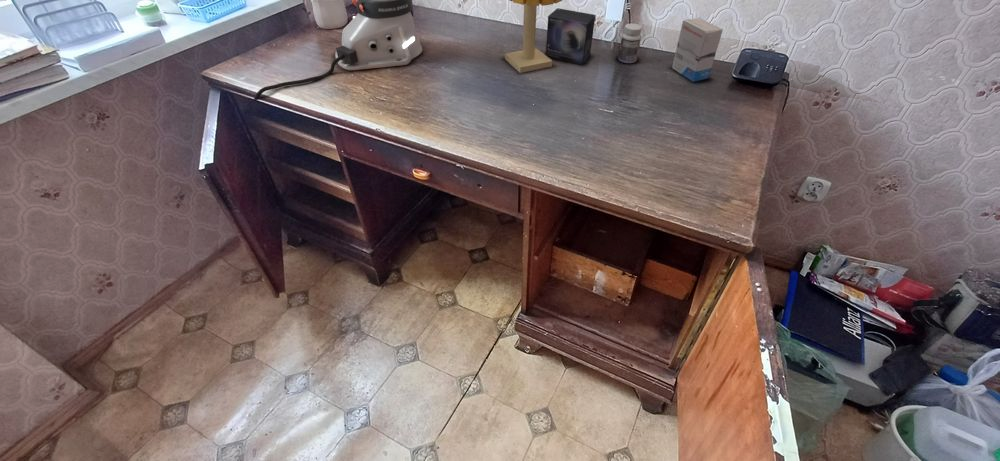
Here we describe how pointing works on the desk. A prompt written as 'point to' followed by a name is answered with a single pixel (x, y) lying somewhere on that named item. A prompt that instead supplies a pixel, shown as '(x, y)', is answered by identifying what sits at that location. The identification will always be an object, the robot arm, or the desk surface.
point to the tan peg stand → (528, 46)
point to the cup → (330, 13)
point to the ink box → (696, 49)
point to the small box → (569, 35)
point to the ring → (536, 2)
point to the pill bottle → (630, 43)
